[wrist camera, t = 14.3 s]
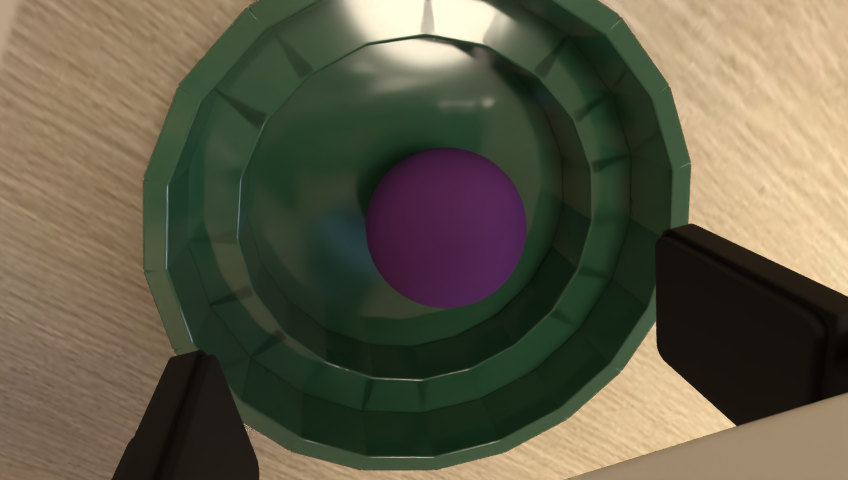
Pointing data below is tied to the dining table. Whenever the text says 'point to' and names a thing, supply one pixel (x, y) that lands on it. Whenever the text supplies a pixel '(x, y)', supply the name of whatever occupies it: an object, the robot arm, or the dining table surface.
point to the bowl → (349, 200)
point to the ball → (446, 227)
